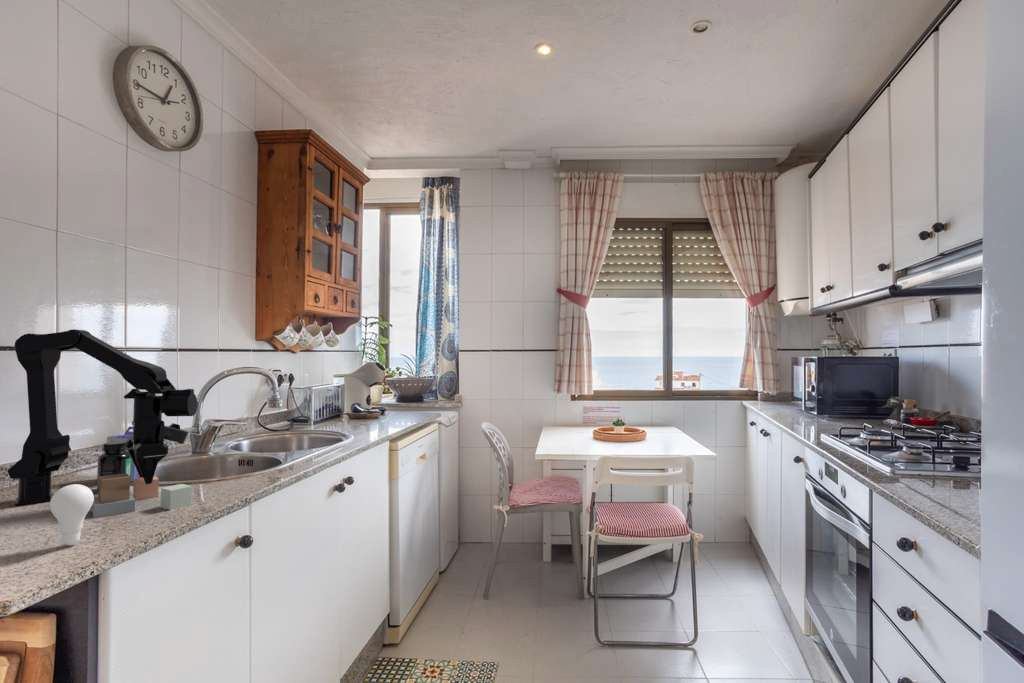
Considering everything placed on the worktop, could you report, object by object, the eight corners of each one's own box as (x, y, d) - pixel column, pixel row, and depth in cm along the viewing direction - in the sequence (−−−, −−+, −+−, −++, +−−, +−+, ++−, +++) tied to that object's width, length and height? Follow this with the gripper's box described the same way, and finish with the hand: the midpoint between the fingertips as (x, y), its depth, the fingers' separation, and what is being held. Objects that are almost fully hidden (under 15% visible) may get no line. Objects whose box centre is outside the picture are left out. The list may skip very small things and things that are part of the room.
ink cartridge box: (151, 478, 144) (152, 426, 145) (132, 482, 139) (134, 429, 139) (122, 476, 146) (123, 425, 147) (103, 480, 141) (105, 428, 141)
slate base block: (91, 512, 114) (92, 499, 114) (130, 506, 119) (130, 493, 119) (94, 520, 109) (94, 505, 109) (134, 513, 114) (135, 499, 114)
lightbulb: (66, 539, 96) (68, 480, 96) (100, 539, 96) (102, 480, 97) (38, 552, 90) (41, 489, 90) (75, 551, 90) (77, 488, 90)
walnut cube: (98, 499, 114) (98, 476, 114) (125, 495, 117) (126, 473, 117) (100, 503, 110) (101, 480, 110) (129, 499, 114) (130, 476, 114)
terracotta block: (133, 497, 125) (133, 478, 125) (155, 493, 128) (155, 475, 128) (135, 501, 122) (136, 482, 122) (158, 497, 125) (158, 479, 125)
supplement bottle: (136, 487, 134) (137, 441, 134) (106, 494, 127) (108, 445, 128) (120, 484, 136) (121, 439, 137) (90, 490, 130) (92, 443, 131)
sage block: (160, 507, 117) (161, 487, 117) (181, 502, 121) (182, 483, 121) (170, 510, 114) (170, 490, 115) (191, 505, 118) (192, 486, 118)
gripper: (193, 417, 124) (192, 482, 124) (178, 411, 138) (176, 469, 138) (137, 421, 117) (135, 490, 116) (127, 414, 130) (125, 475, 130)
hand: (145, 480), depth 125 cm, fingers open, 9 cm apart
